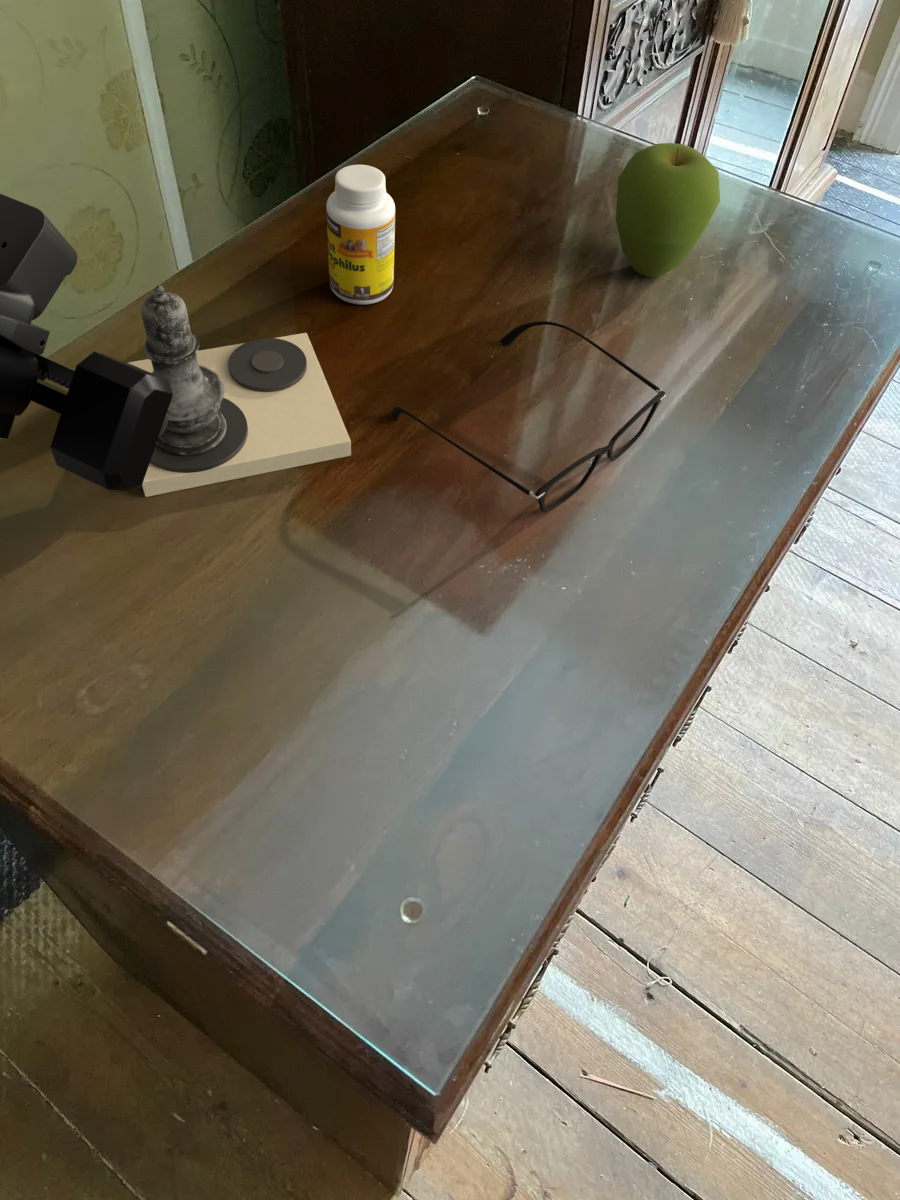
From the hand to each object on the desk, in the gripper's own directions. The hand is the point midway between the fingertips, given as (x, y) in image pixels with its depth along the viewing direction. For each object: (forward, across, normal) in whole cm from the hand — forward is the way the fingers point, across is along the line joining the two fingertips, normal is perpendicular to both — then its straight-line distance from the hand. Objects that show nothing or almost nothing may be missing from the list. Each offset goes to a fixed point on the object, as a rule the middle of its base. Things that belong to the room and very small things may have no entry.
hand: (104, 397), depth 59 cm
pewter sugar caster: (+10, 0, +1) cm, 10 cm away
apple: (+40, -21, -26) cm, 52 cm away
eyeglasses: (+22, -20, -8) cm, 31 cm away
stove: (+15, 0, -1) cm, 15 cm away
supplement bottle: (+28, 0, -14) cm, 32 cm away
